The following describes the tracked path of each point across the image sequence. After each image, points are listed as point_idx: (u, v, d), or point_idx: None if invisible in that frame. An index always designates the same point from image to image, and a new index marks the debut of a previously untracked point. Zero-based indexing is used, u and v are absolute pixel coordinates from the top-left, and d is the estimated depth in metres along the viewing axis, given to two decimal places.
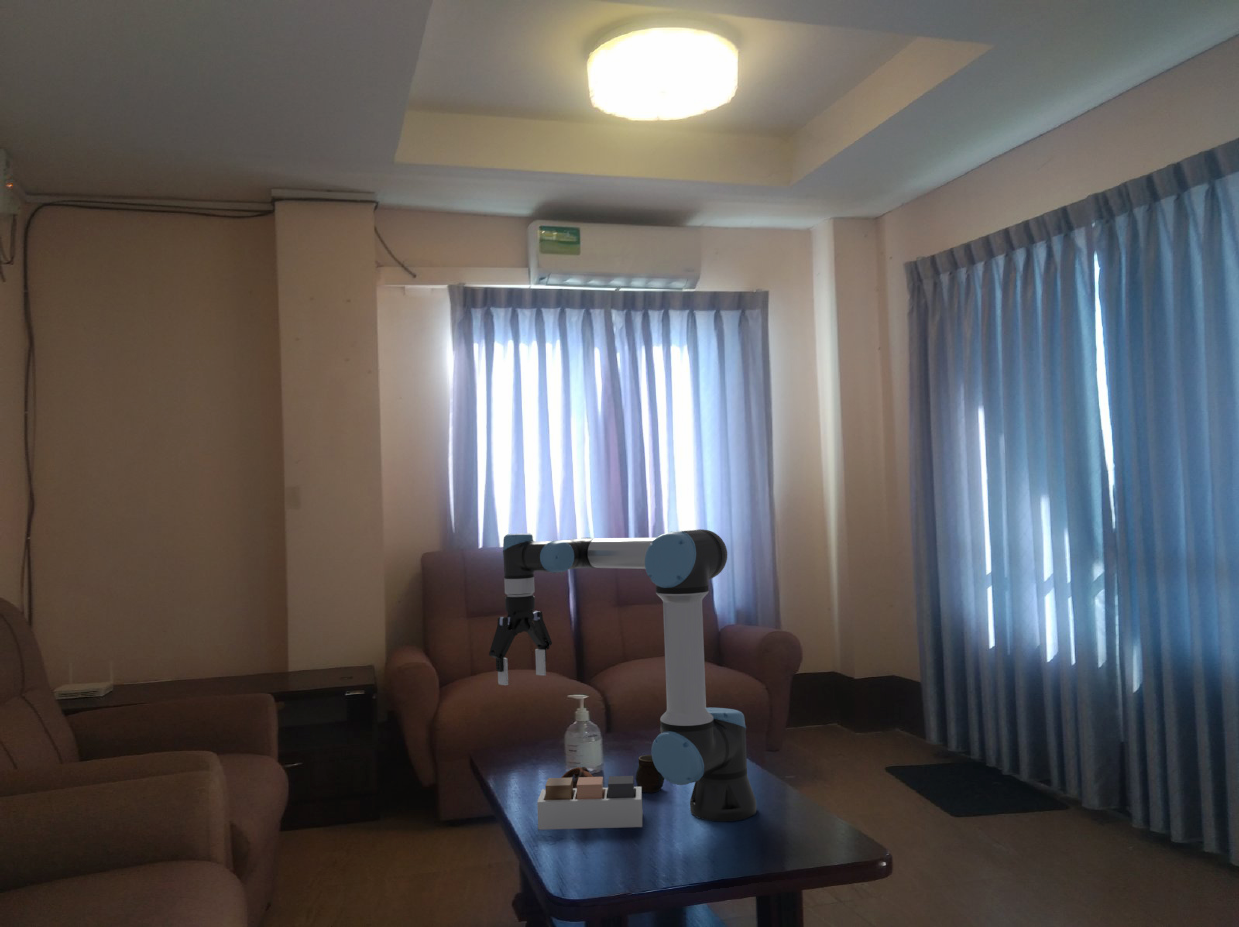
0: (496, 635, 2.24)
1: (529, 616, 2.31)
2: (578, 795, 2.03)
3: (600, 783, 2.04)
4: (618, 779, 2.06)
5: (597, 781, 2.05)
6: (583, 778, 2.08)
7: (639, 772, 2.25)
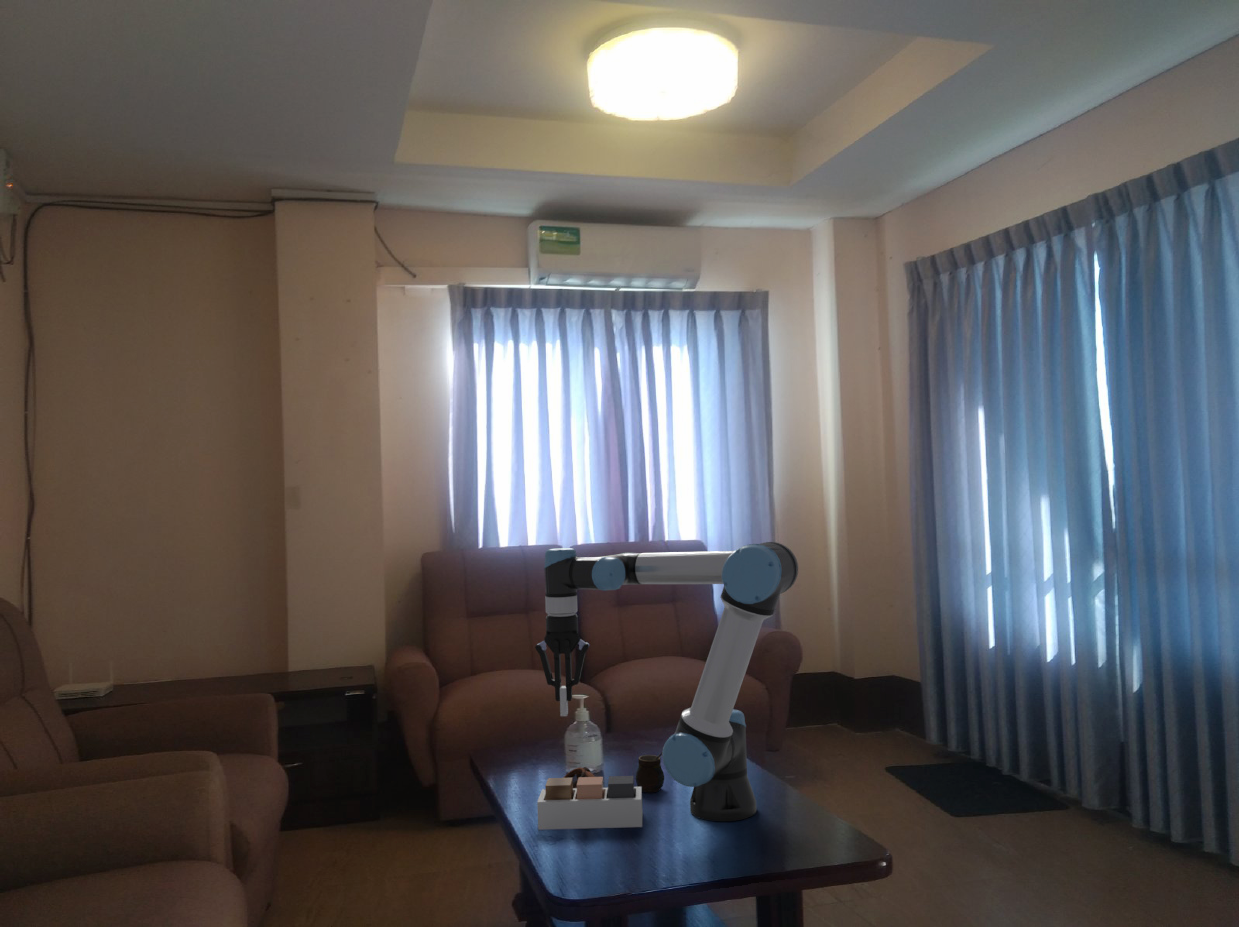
0: None
1: (571, 636, 2.14)
2: (578, 795, 2.03)
3: (600, 783, 2.04)
4: (618, 779, 2.06)
5: (597, 781, 2.05)
6: (583, 778, 2.08)
7: (639, 772, 2.25)
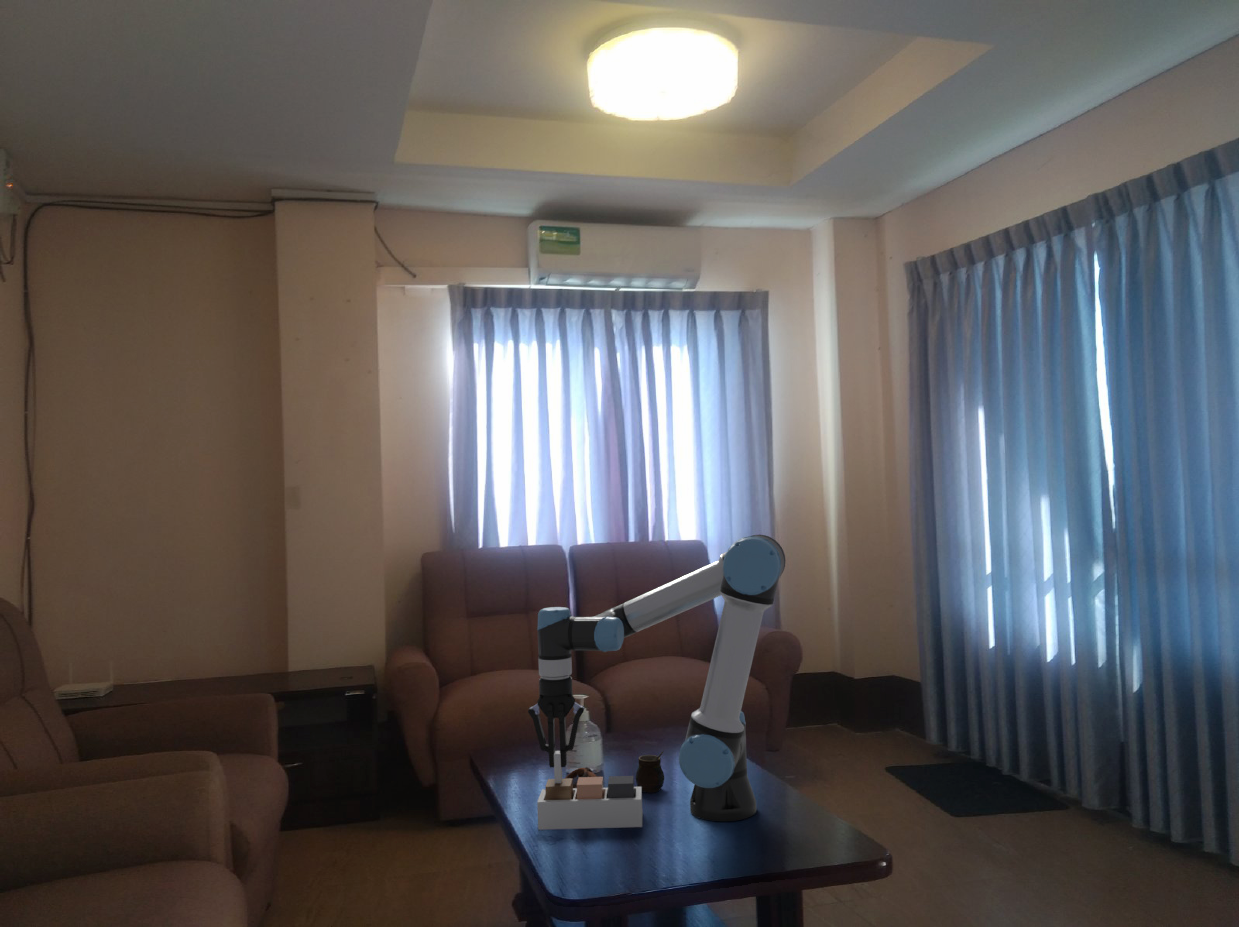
0: None
1: (566, 699, 2.06)
2: (578, 795, 2.03)
3: (600, 783, 2.04)
4: (618, 779, 2.06)
5: (597, 781, 2.05)
6: (583, 778, 2.08)
7: (639, 772, 2.25)
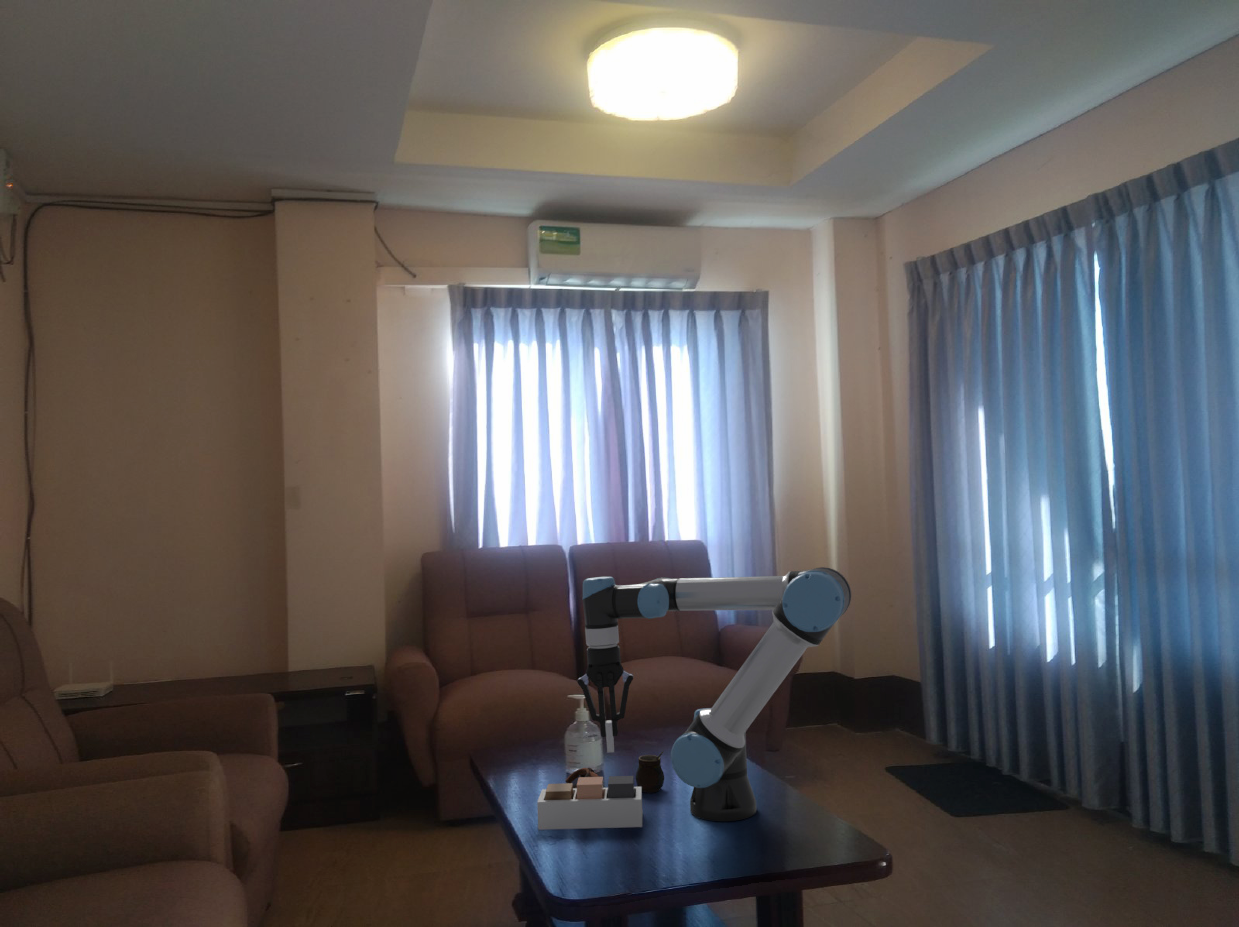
0: None
1: (615, 668, 2.06)
2: (578, 795, 2.03)
3: (600, 783, 2.04)
4: (618, 779, 2.06)
5: (597, 781, 2.05)
6: (583, 778, 2.08)
7: (639, 772, 2.25)
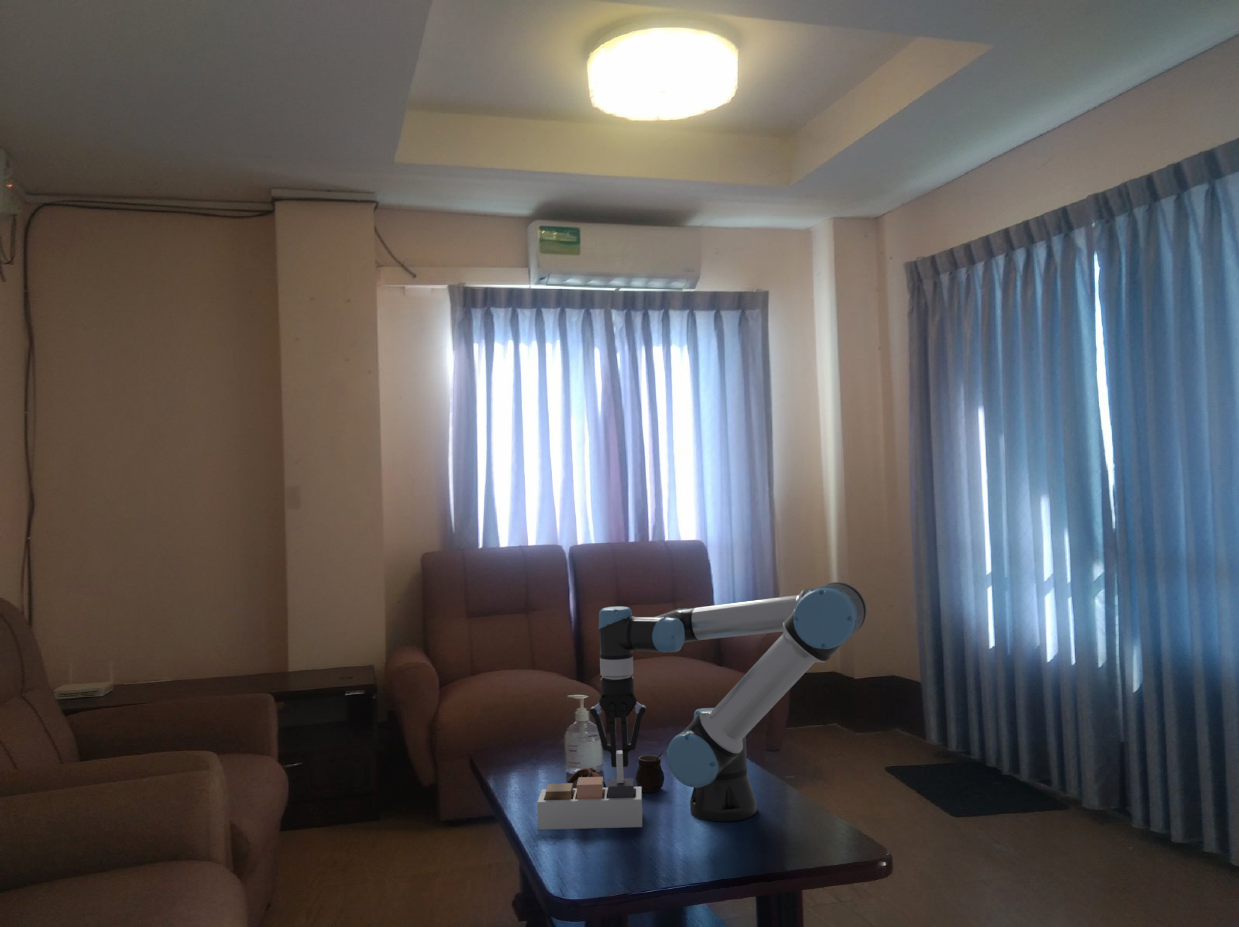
0: None
1: (628, 699, 2.05)
2: (578, 795, 2.03)
3: (600, 783, 2.04)
4: None
5: (597, 781, 2.05)
6: (583, 778, 2.08)
7: (639, 772, 2.25)
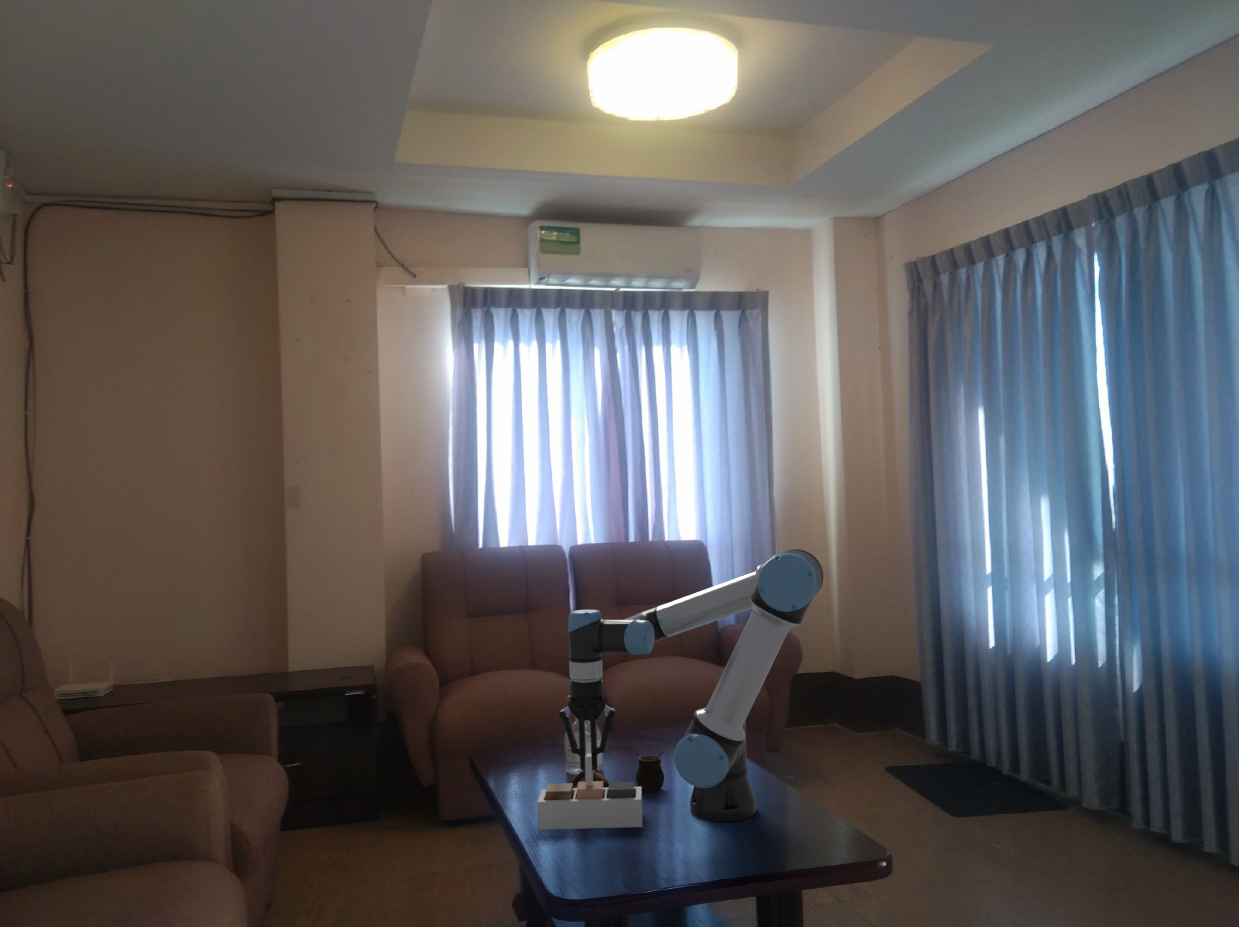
0: None
1: (597, 702, 2.06)
2: None
3: (600, 788, 2.04)
4: (619, 785, 2.06)
5: (597, 785, 2.05)
6: (583, 782, 2.08)
7: (639, 772, 2.25)
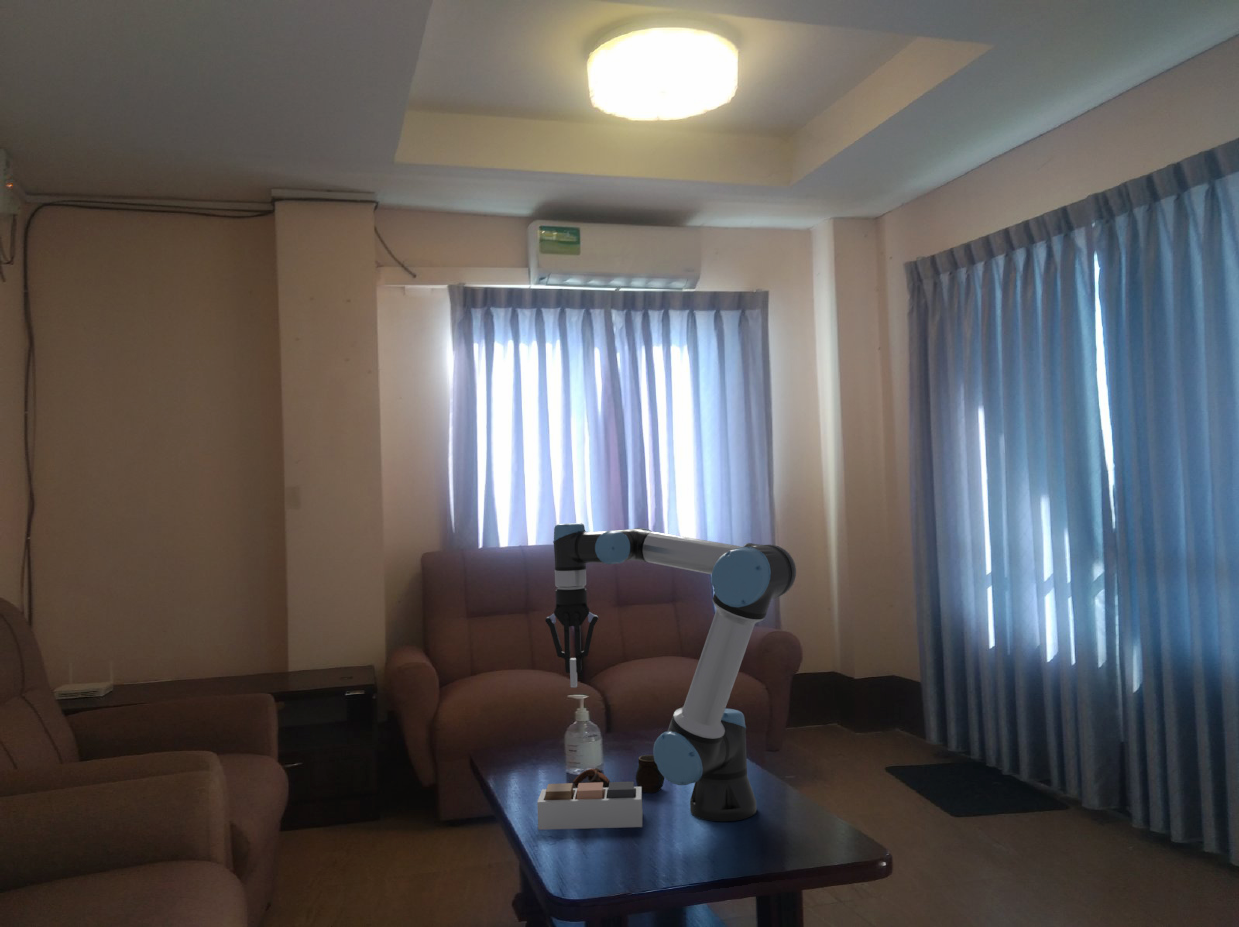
0: None
1: (581, 608, 2.18)
2: None
3: (600, 789, 2.04)
4: (619, 785, 2.06)
5: (597, 787, 2.05)
6: (583, 784, 2.08)
7: (639, 772, 2.25)
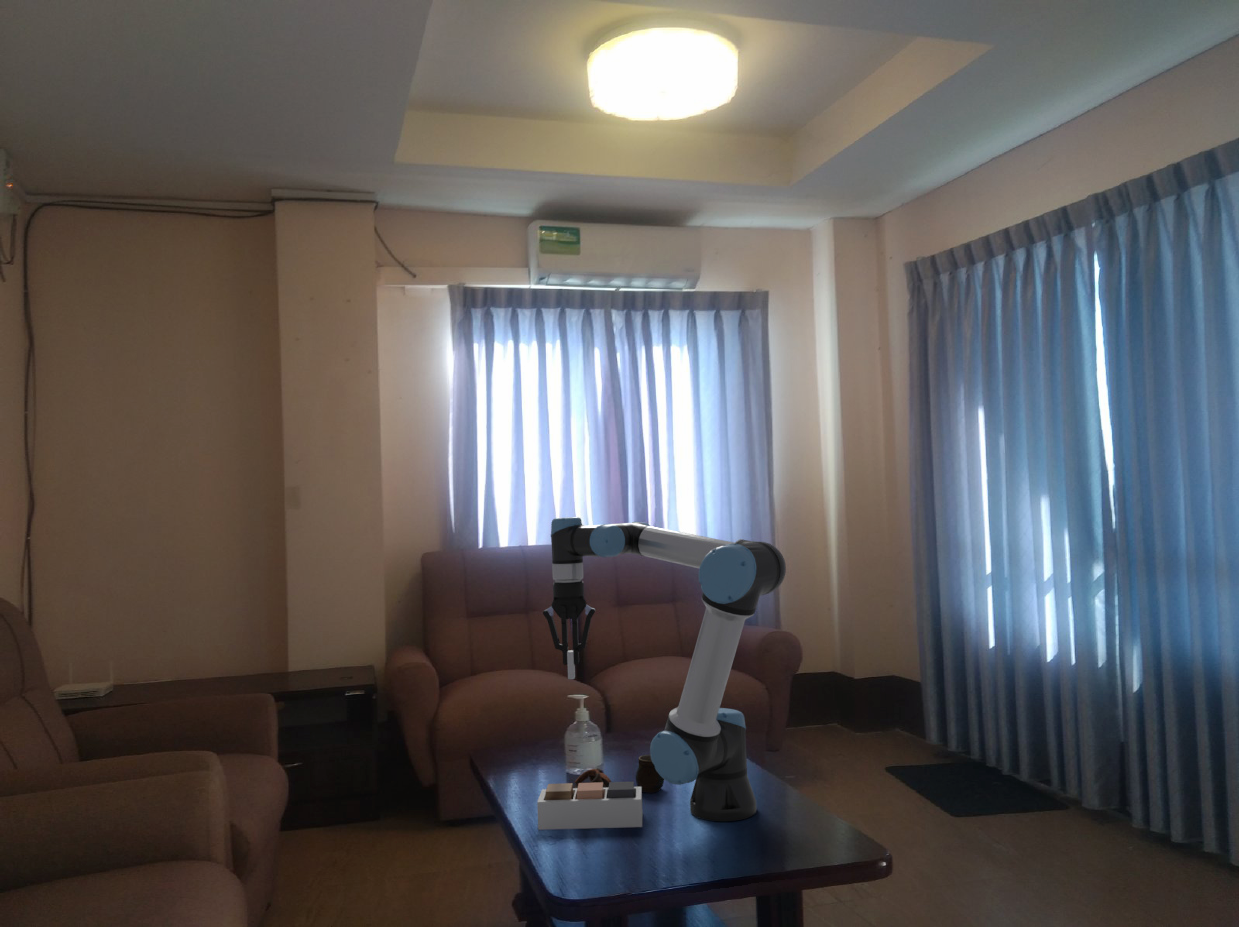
0: None
1: (578, 601, 2.21)
2: None
3: (600, 789, 2.04)
4: (619, 785, 2.06)
5: (597, 787, 2.05)
6: (583, 784, 2.08)
7: (639, 772, 2.25)
